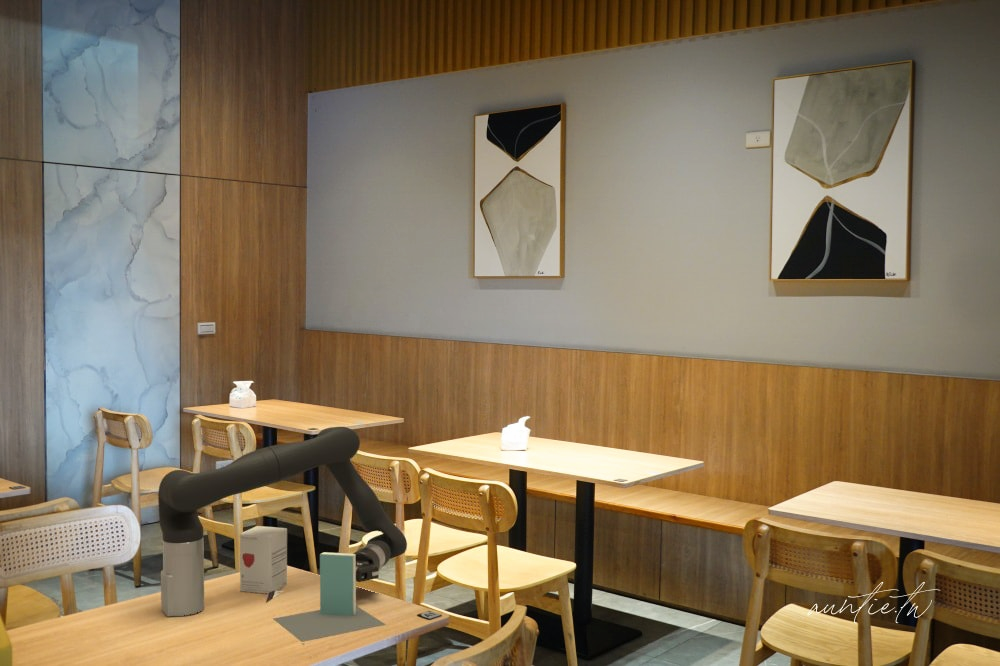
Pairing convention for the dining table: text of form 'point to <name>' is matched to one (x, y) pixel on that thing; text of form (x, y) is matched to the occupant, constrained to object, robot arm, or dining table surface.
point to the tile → (337, 584)
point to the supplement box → (263, 559)
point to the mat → (326, 624)
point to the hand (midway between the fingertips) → (341, 581)
